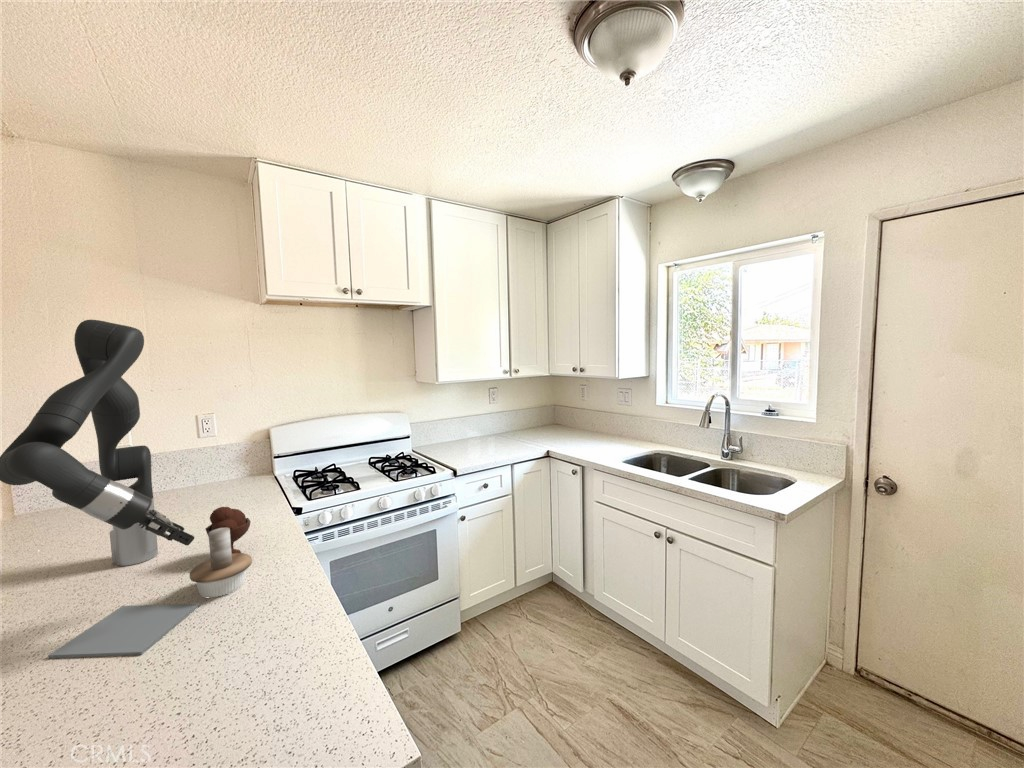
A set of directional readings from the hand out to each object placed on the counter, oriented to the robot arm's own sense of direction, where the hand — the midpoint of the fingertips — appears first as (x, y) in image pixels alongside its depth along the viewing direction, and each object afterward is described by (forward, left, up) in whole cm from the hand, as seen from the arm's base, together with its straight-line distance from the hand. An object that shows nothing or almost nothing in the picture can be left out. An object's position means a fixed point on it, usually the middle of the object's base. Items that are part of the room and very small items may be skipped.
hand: (186, 536), depth 100 cm
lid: (+5, +5, -11) cm, 13 cm away
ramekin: (+5, +5, -16) cm, 17 cm away
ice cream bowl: (-5, +22, -16) cm, 28 cm away
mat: (-5, -11, -16) cm, 20 cm away
